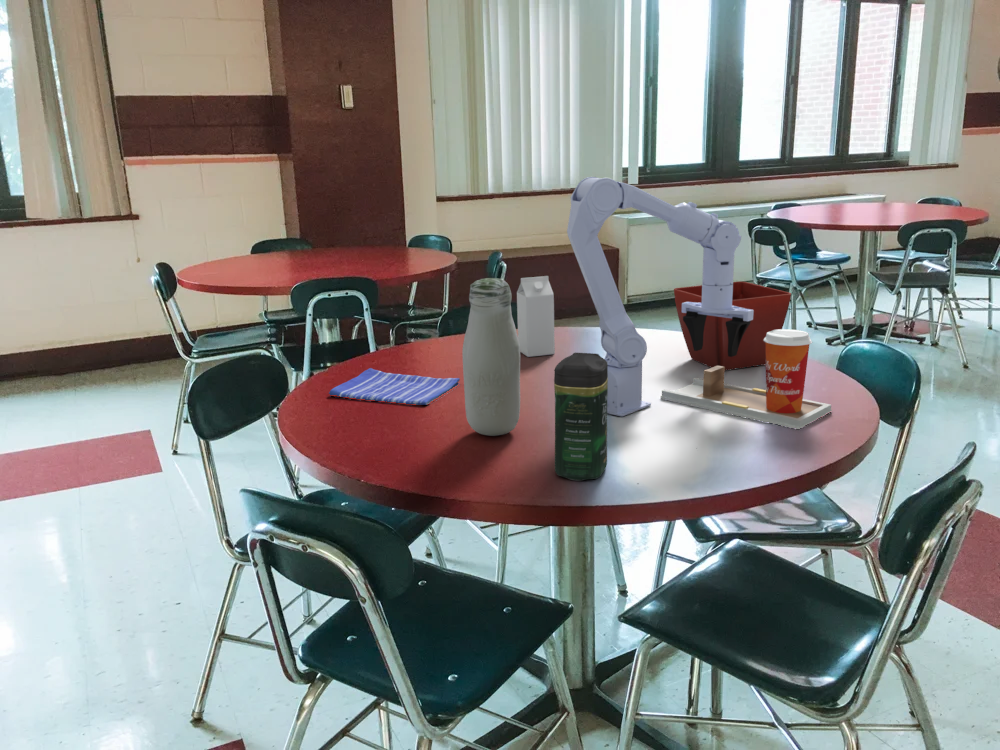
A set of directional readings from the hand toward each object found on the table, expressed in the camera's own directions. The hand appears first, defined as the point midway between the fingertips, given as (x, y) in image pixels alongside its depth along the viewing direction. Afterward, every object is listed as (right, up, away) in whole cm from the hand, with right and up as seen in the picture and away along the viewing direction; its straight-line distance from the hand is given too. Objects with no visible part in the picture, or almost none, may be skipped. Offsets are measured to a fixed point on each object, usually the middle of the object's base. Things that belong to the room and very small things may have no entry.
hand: (714, 352), depth 158 cm
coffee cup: (+11, -11, -8) cm, 18 cm away
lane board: (+5, -10, -2) cm, 11 cm away
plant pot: (+11, -2, +29) cm, 31 cm away
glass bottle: (-43, -15, -13) cm, 47 cm away
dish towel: (-64, -8, +16) cm, 67 cm away
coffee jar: (-29, -20, -31) cm, 47 cm away
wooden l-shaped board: (+7, -11, -4) cm, 13 cm away
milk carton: (-33, +1, +43) cm, 55 cm away
